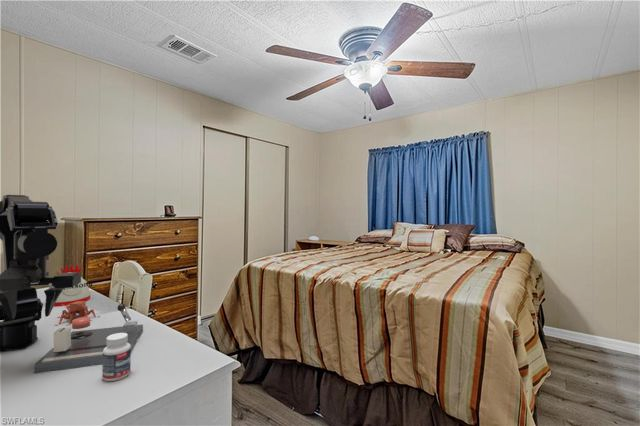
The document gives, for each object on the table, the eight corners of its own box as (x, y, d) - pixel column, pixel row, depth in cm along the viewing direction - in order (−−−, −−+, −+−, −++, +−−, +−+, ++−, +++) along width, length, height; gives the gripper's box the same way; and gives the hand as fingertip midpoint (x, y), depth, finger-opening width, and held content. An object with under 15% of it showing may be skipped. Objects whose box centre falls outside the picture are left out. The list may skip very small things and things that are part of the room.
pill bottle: (116, 383, 66) (116, 342, 66) (96, 380, 67) (96, 339, 67) (136, 370, 71) (136, 332, 71) (117, 368, 72) (117, 330, 72)
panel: (33, 373, 69) (34, 355, 69) (72, 338, 88) (72, 324, 88) (125, 360, 75) (125, 344, 75) (142, 330, 94) (142, 317, 94)
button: (69, 329, 83) (69, 322, 83) (75, 324, 87) (75, 317, 87) (86, 328, 84) (87, 320, 84) (92, 323, 88) (92, 316, 88)
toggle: (124, 323, 88) (115, 307, 87) (126, 321, 90) (117, 305, 89) (131, 319, 89) (122, 303, 88) (133, 317, 91) (124, 301, 90)
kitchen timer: (93, 301, 125) (93, 264, 125) (48, 309, 114) (49, 269, 114) (85, 294, 134) (85, 260, 134) (43, 301, 124) (43, 264, 124)
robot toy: (102, 319, 104) (102, 283, 104) (54, 329, 96) (54, 289, 96) (94, 309, 115) (94, 276, 115) (50, 317, 106) (50, 281, 106)
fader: (53, 352, 74) (53, 332, 74) (59, 347, 77) (59, 327, 77) (65, 350, 75) (65, 331, 75) (70, 345, 78) (70, 326, 78)
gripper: (-49, 260, 63) (-49, 335, 63) (62, 256, 69) (62, 324, 70) (-12, 253, 74) (-12, 317, 74) (81, 250, 80) (81, 309, 80)
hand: (30, 317), depth 74 cm, fingers open, 6 cm apart
